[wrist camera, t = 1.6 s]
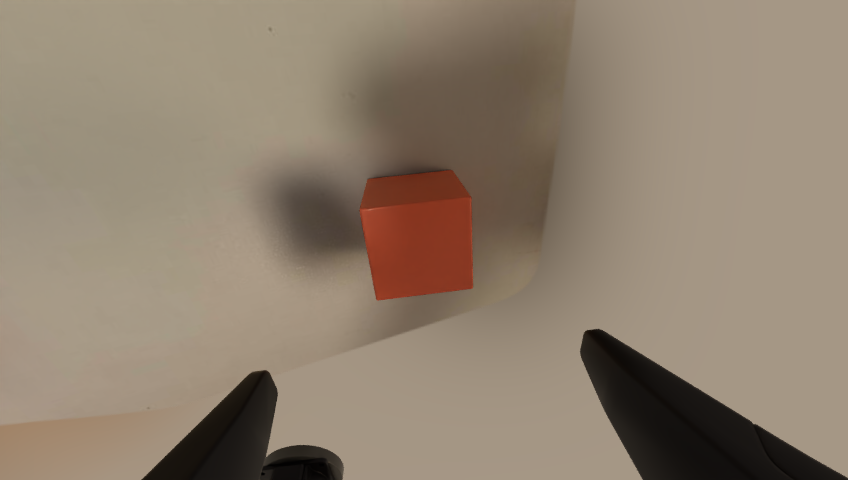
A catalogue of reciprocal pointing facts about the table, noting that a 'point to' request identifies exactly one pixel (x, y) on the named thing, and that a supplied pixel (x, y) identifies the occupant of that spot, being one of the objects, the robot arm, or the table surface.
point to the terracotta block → (418, 234)
